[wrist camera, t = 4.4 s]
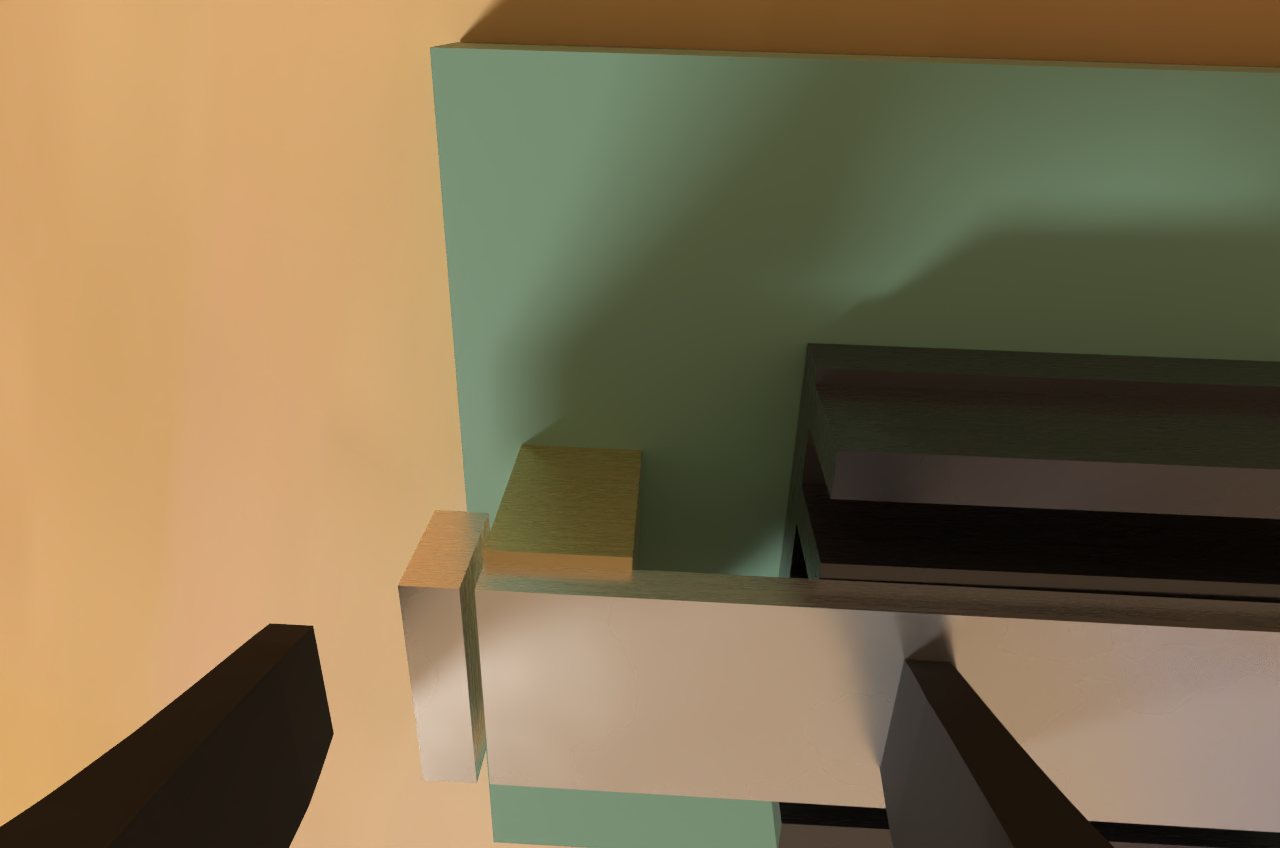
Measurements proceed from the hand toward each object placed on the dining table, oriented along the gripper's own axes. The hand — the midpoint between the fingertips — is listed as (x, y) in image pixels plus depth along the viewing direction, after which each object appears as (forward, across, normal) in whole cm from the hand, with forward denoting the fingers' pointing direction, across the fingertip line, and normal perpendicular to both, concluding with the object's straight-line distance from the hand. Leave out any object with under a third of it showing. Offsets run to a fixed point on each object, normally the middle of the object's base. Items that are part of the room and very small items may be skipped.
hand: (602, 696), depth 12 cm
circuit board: (+5, -6, 0) cm, 8 cm away
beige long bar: (+2, -5, 0) cm, 6 cm away
